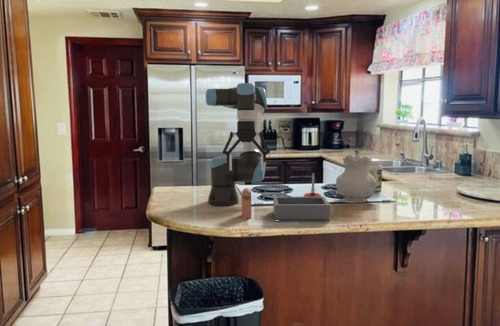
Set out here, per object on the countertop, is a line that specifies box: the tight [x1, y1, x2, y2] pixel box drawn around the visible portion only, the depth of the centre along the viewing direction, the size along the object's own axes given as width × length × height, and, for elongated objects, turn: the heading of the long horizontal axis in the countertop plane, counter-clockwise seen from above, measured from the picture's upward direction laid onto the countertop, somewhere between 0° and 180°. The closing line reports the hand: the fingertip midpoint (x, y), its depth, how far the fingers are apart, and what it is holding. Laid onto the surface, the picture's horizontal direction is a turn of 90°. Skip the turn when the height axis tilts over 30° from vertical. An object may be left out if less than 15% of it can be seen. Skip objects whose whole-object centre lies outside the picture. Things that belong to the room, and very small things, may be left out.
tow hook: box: [304, 172, 322, 197], centre depth 223 cm, size 8×13×9 cm
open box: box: [272, 196, 331, 222], centre depth 186 cm, size 23×15×7 cm, turn 89°
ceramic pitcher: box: [335, 148, 376, 204], centre depth 213 cm, size 22×20×25 cm
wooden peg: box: [241, 187, 252, 219], centre depth 186 cm, size 4×6×12 cm, turn 179°
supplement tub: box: [368, 158, 383, 192], centre depth 237 cm, size 12×12×17 cm
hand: (246, 169), depth 183 cm, fingers open, 13 cm apart
